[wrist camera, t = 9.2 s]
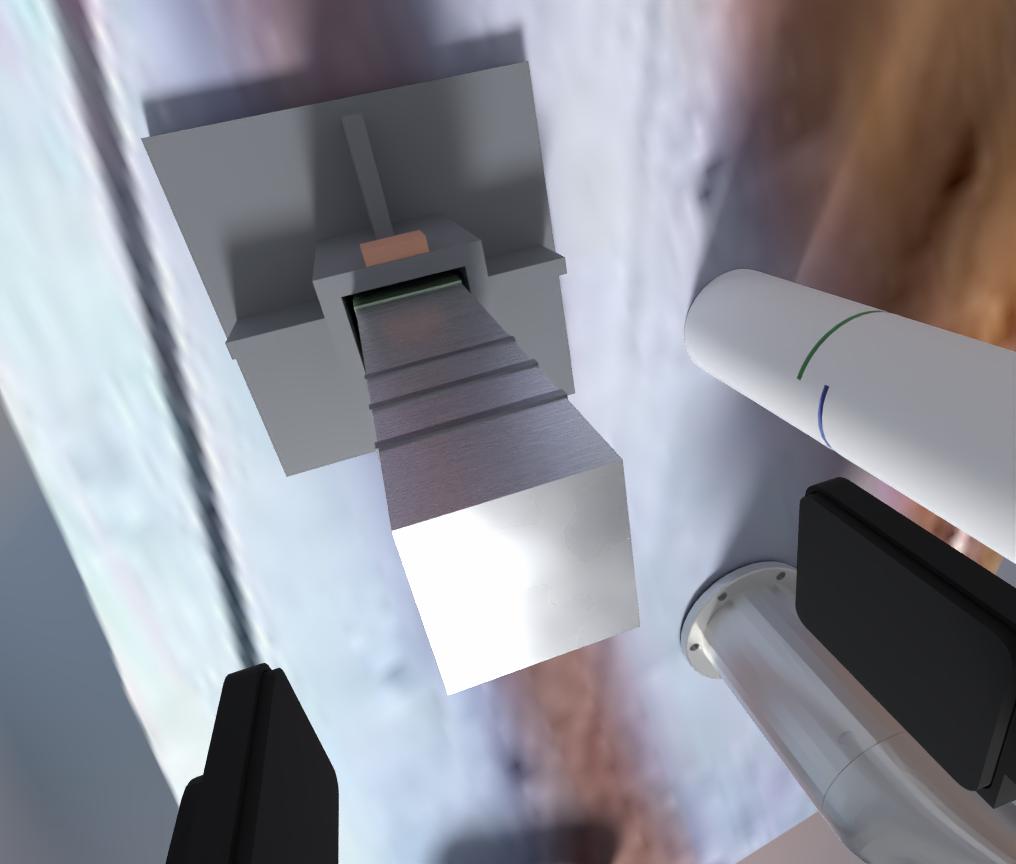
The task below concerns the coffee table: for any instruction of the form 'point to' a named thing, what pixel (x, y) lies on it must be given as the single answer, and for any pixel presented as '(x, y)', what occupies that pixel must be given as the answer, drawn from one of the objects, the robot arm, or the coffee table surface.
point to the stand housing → (364, 237)
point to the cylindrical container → (873, 392)
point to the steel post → (491, 486)
